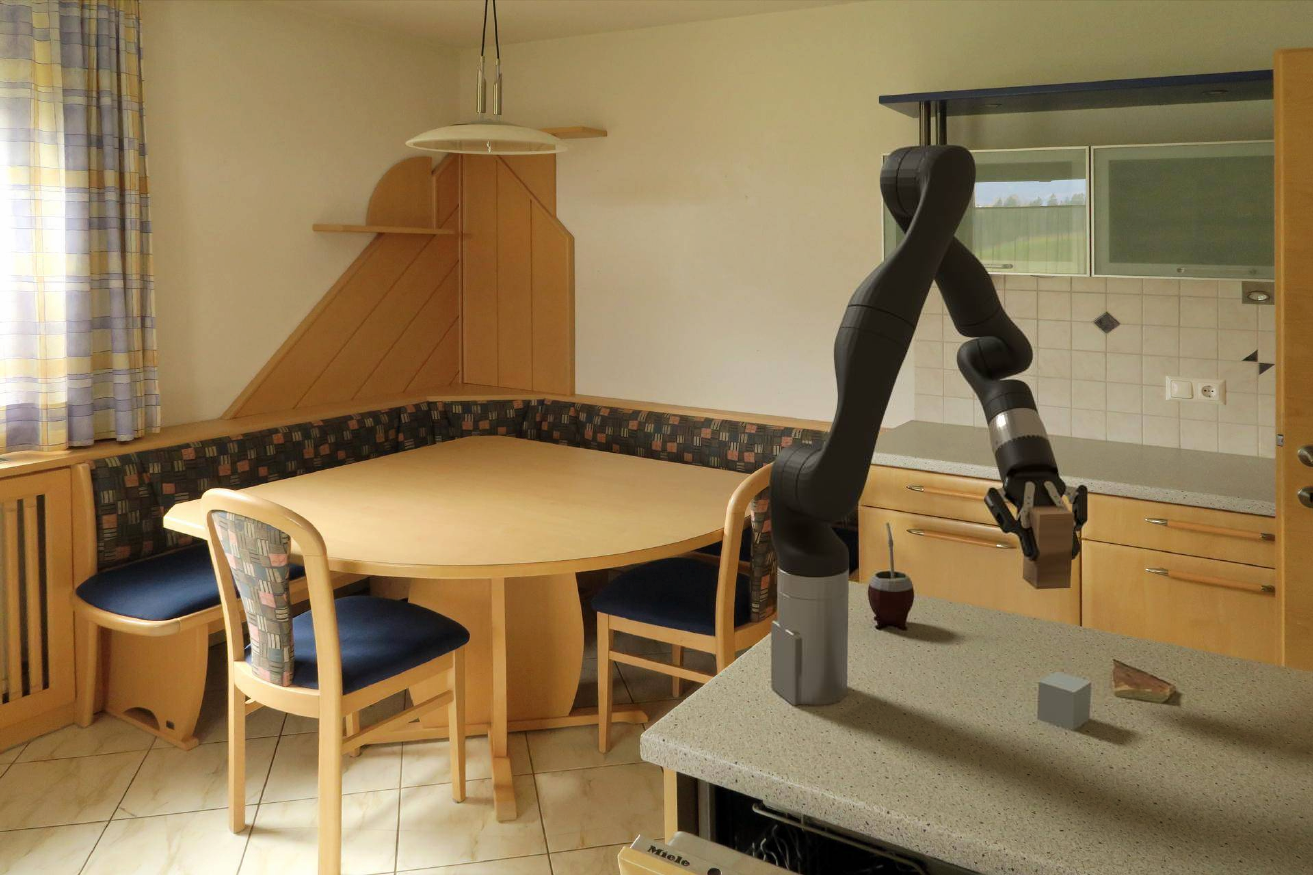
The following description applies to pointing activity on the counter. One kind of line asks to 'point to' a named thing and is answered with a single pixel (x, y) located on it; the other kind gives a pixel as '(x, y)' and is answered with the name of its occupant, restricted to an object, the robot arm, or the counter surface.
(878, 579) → the mate gourd
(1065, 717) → the grey-blue block
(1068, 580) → the walnut block
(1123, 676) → the shard
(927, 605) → the counter surface
